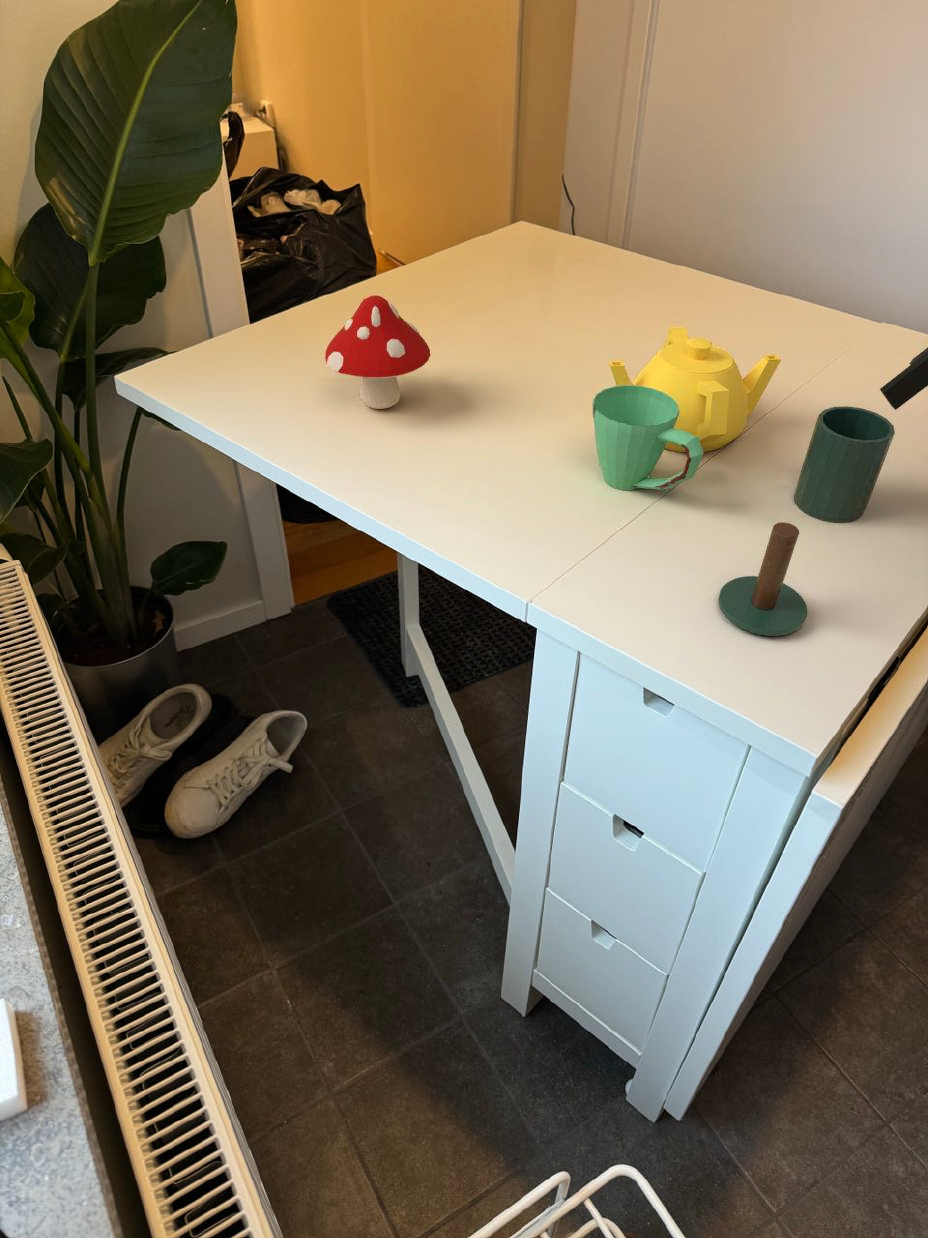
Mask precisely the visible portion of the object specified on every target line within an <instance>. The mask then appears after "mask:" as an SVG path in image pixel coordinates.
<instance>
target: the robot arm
mask: <svg viewBox="0 0 928 1238" xmlns="http://www.w3.org/2000/svg"><path fill="white" fill-rule="evenodd" d="M927 387H928V346H927V347H926V348H925V349H923V350H922V351H921V352H920V353H919V354H917V355H916V356H915V357H913V358H912V359H911V360H910V362H909V365H908V366H907V367H906V368H904V369H903V370H902V371H901V372H900V373H898V374H897V375H896V376H895V377H893V378H892V379H891V380H889V381H888V382H887V383H885V384H884V385H883V386H881V387H880V388H879V391H880V392H881V394H882V395H883V396H884V398H885V399H886V400H887V402H888V403H889V405H890V406H891V407H892V408H893V409H894V410H895V411H897V410H898V409H900V408H901V407H902V406H904V405H905V404H906V403H907V402H909V401H910V400H911V399H912V398H914V397H915V396H916V395H917V394H919V393H920V392H922V391H923V390H924V389H925V388H927Z"/></svg>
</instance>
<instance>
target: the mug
mask: <svg viewBox="0 0 928 1238" xmlns="http://www.w3.org/2000/svg"><path fill="white" fill-rule="evenodd" d="M591 408H592V417H593V426H594V438H595V439H594V440H595V447H596V451H597V456H598V462H599V466H600V469H601V473H602V476H603V480H604V482H605V483H606V484H607V485H608V486H609V487H611V488H613V489H616V490H620V491H635V490H638V489H650V490H659V491H665V490H667V489H669V488H672V487H674V486H676V485H679V484H681V483H683V482H685V481H687V480H689V479H691V478H693V477H694V476H695V475H696V473H697V472H698V468H699V465H700V463H701V461H702V457H703V455H704V453H705V452H703V449H702V446H701V444H700V441H699V438H698V437H696V436H694V435H692V434H690V433H688V432H685V431H682V430H678V429H674V426H675V423H676V421H677V419H678V416H679V406H678V404H677V402H676V401H675V400H674V399H673V398H672V397H670V396H669V395H667V394H665V393H664V392H661V391H659V390H656V389H653V388H649V387H644V386H635V385H622V386H616V385H614V386H611V387H607V388H604V389H602V390H601V391H599V392H598V393H596V394H595V396H594V398H593V399H592V407H591ZM667 442H671V443H675V444H677V445H679V446H680V447H682V448H684V449H685V450H686V452H685V453H686V456H687V457H686V458H687V459H686V462H685V466H684V468H683V470H681V471H680V472H678V473H677V474H675V475H673V476H671V477H669V478H664V477H650V475H651V474H652V473H653V471H654V469H655V467H656V466H657V464H658V462H659V460H660V459H661V458H662V454H663V453H664V451H665V449H664V448H665V446H666V443H667Z"/></svg>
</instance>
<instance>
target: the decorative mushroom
mask: <svg viewBox="0 0 928 1238" xmlns="http://www.w3.org/2000/svg"><path fill="white" fill-rule="evenodd" d="M324 353H325V355H324V359H325V360H324V361H325V365H326V366H327V368H328V369H329V370H330V371H333V372H335V373H339V374H342V375H347V376H352V377H356V378H361V383H360V386H359V398H360V399H359V400H360V402H361V403H363V404H364V405H365V406H367V407H369V408H372V409H377V410H383V409H389V408H391V407H393V406H395V405H396V404H397V403H398V402H399V401H400V399H401V389H400V385H399V382H398V379H397V377H401V376H404V375H408V374H410V373H413V372H415V371H416V370H418V369H420V368H422V367H423V366H424V365H426V363H428V361H429V359H430V358H431V349H430V347H429V345H428V343H427V342H426V340H425V339H424V338H423V337H422V336H421V334H420V332H419V330H418V329H417V327H415V325H413V324H412V323H411V322H409V321H407V320H404V318H403V317H402V316H401V315H400V313H399V311H398V309H397V308H396V306H394V304H393V303H391V302H389V300H387V299H386V298H385V297H383V296H381V295H370V296H368V297H366V298H364V299H362V301H361V302H360V303H359V305H357V308H356V309H355V311H354V313H353V315H352V316H351V318H350V319H348V320H347V321H346V322H345V324H344V325H343V327H342V328H341V329H339V330H338V332H337V333H336V334H335V335H334V337H333V338H332V339H331V340H330V342H329V344H328V345H327V346H326V350H325V352H324Z"/></svg>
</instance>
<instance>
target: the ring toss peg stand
mask: <svg viewBox="0 0 928 1238" xmlns="http://www.w3.org/2000/svg"><path fill="white" fill-rule="evenodd" d="M799 535H800V529H799V528H798V527H797V526H796V525H794V524H792V523H789V522H785V521H784V522H783V521H782V522H777V523H775V524H774V525H772V529H771V532H770V536H769V539H768V542H767V545H766V548H765V551H764V552H765V553H764V556H763V559H762V562H761V566H760V569H759V571H758V575H747V576H746V575H745V576H740V577H735V578H733V579H731V580H729V581H728V582H726V583H725V584H724V585H723V586H722V588H721V589H720V591H719V595H718V599H717V600H718V606H719V609H720V611H721V613H722V614H723V615H724V616H725V618H726V619H727V620H728V621H729V622H731V623H732V624H734V625H735V626H737V627H739V628H740V629H742V630H745V631H747V632H750V633H753V634H757V635H761V636H769V637H770V636H771V637H779V636H785V635H790V634H793V633H794V632H797V631H798V630H799V629H800V628H801V627H803V625H804V624H805V622H806V619H807V617H808V606H807V603H806V600H805V599H804V598H803V597H802V595H801V594H800V593H799V592H798V591H796V590H795V589H794V588H792V587H791V586H789V585H788V584H786V583H784V581H785V578H786V575H787V572H788V569H789V566H790V563H791V560H792V557H793V553H794V551H795V547H796V545H797V541H798V539H799Z"/></svg>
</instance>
